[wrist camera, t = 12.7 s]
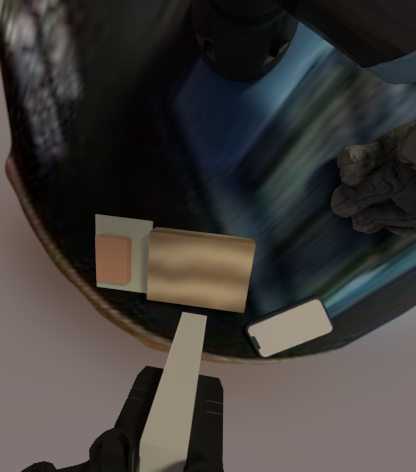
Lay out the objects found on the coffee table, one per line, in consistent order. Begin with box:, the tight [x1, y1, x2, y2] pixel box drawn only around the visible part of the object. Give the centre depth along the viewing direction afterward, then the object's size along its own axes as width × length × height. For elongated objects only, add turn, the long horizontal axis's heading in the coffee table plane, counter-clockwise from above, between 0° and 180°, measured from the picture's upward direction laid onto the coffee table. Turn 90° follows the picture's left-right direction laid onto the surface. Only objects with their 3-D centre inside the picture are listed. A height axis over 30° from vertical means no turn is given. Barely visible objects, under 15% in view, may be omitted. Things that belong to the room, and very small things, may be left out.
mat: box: [95, 214, 153, 293], centre depth 41 cm, size 15×11×1 cm
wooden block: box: [147, 227, 256, 313], centre depth 38 cm, size 13×18×4 cm
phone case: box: [245, 295, 334, 358], centre depth 42 cm, size 9×2×16 cm
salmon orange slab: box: [95, 234, 132, 285], centre depth 40 cm, size 9×6×2 cm, turn 174°
